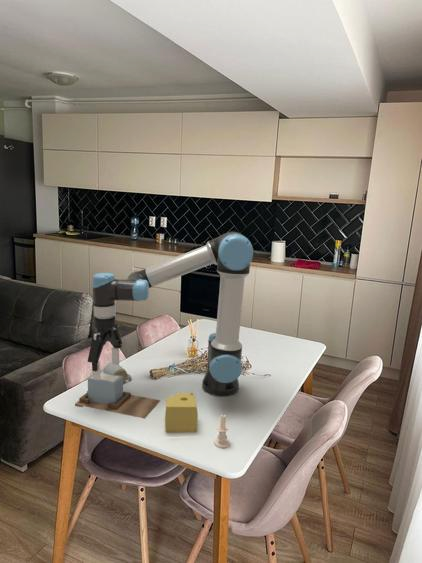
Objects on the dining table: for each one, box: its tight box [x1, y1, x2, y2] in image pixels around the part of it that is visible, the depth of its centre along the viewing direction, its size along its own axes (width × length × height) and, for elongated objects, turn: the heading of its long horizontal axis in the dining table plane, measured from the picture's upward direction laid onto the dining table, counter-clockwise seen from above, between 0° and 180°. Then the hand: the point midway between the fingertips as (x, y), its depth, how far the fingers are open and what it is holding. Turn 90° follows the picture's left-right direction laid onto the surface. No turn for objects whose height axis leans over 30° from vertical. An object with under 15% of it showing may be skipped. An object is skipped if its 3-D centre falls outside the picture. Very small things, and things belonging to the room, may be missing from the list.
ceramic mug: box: [102, 361, 132, 384], centre depth 176 cm, size 11×8×8 cm
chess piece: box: [213, 413, 231, 449], centre depth 135 cm, size 5×5×10 cm
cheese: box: [164, 392, 199, 433], centre depth 144 cm, size 10×11×10 cm
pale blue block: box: [87, 371, 124, 405], centre depth 159 cm, size 11×6×9 cm, turn 74°
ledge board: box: [74, 390, 161, 419], centre depth 158 cm, size 28×14×3 cm, turn 73°
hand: (106, 371), depth 157 cm, fingers open, 13 cm apart
